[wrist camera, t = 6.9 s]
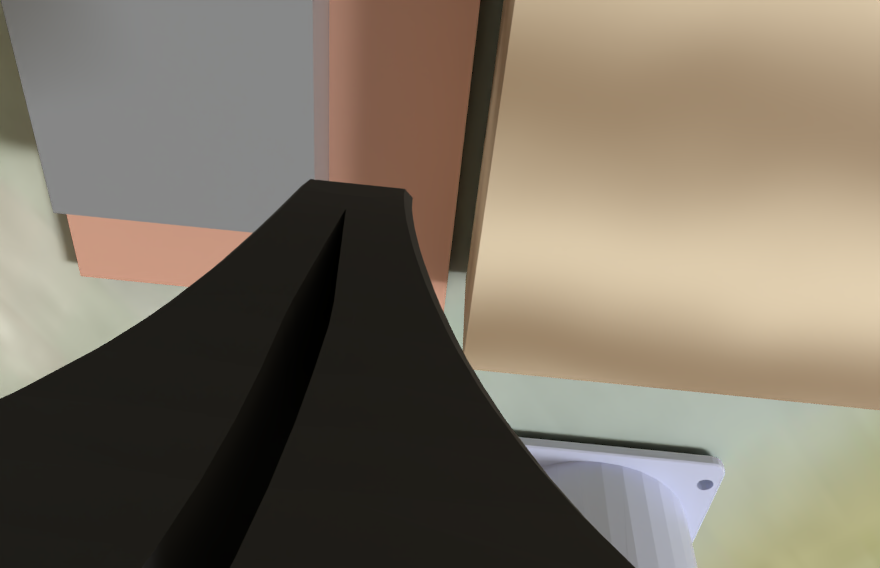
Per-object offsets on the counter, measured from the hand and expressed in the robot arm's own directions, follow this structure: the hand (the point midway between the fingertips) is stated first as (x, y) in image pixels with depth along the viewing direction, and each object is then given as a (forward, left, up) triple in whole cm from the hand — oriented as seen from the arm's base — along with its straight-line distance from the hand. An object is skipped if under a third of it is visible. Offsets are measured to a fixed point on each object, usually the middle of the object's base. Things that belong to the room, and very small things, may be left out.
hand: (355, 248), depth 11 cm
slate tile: (0, +5, -6) cm, 8 cm away
